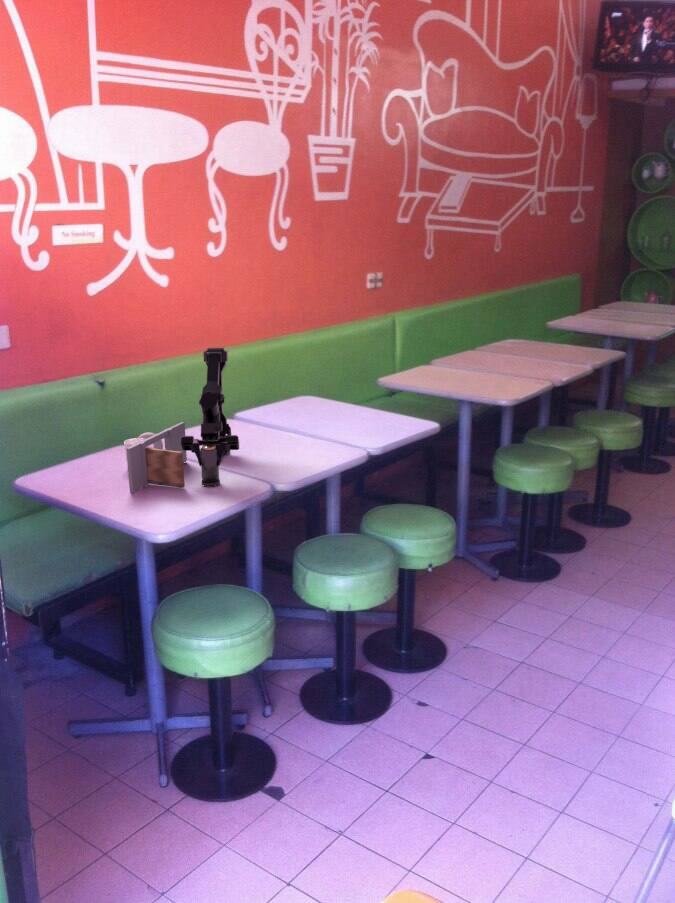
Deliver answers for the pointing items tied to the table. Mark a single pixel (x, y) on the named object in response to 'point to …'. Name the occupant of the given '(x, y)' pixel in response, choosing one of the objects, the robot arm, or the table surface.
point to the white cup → (131, 442)
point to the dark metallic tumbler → (209, 465)
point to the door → (165, 467)
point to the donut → (156, 445)
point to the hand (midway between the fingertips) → (209, 465)
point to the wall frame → (138, 454)
